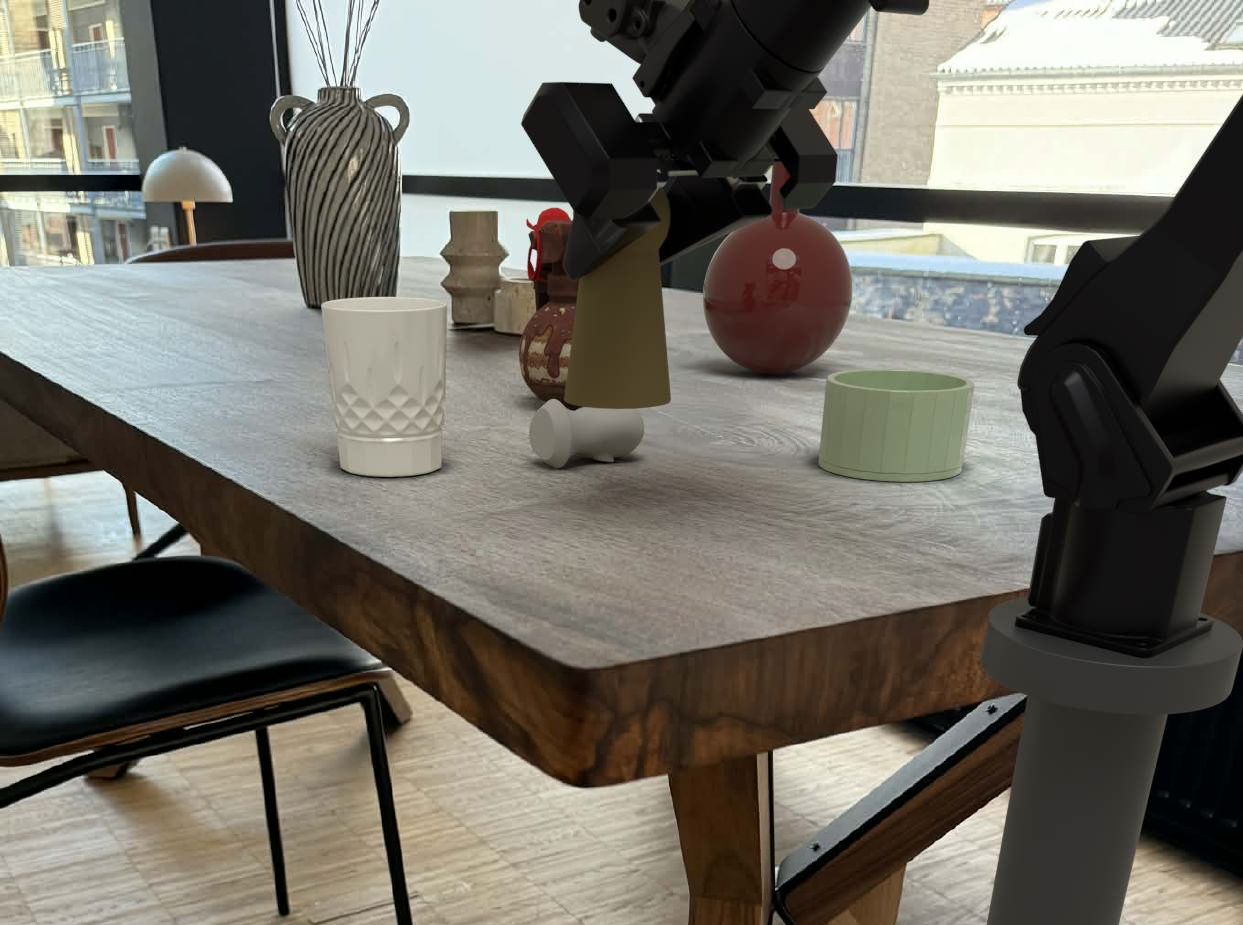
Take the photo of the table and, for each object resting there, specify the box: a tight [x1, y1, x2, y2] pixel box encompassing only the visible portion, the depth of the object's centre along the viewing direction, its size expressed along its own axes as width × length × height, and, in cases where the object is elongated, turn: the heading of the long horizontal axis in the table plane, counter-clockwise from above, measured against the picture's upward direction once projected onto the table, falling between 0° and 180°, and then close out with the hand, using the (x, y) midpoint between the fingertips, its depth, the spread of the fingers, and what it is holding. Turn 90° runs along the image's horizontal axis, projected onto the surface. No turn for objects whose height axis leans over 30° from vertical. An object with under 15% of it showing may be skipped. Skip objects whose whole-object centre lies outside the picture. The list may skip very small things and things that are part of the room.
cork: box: [564, 188, 672, 410], centre depth 79 cm, size 6×6×11 cm
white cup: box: [320, 296, 448, 478], centre depth 93 cm, size 8×8×10 cm
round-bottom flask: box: [702, 163, 854, 375], centre depth 127 cm, size 13×13×20 cm
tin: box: [818, 368, 976, 483], centre depth 96 cm, size 9×9×6 cm
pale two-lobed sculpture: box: [528, 399, 645, 469], centre depth 97 cm, size 4×8×5 cm
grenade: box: [518, 207, 582, 409], centre depth 113 cm, size 10×8×15 cm
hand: (602, 270), depth 79 cm, fingers closed on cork, 5 cm apart
